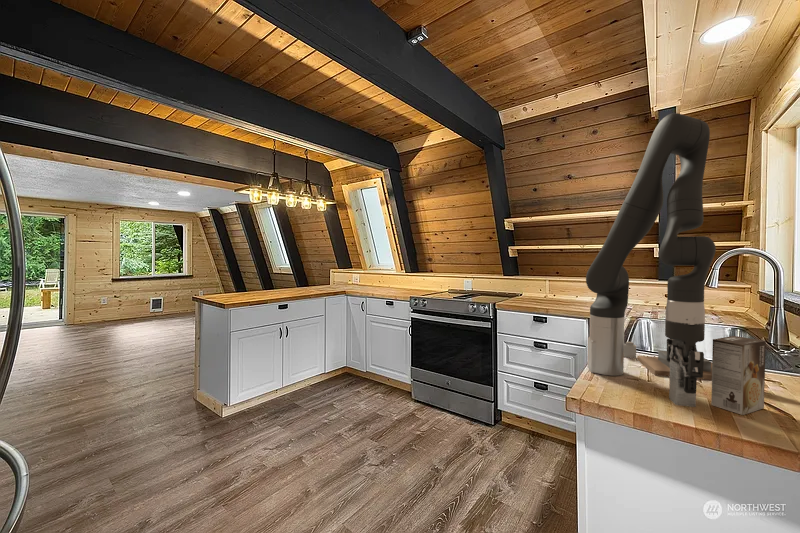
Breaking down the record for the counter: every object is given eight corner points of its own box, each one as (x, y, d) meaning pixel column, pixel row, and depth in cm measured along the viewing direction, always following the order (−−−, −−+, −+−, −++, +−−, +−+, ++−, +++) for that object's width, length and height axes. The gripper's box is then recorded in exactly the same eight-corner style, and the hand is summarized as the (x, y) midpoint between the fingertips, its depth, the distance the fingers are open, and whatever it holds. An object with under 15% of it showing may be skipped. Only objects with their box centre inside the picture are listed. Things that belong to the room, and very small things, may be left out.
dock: (654, 375, 109) (655, 360, 109) (637, 360, 124) (637, 346, 124) (737, 382, 103) (737, 366, 103) (708, 365, 118) (708, 351, 118)
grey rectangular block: (636, 357, 128) (636, 334, 127) (635, 358, 126) (636, 335, 126) (612, 354, 132) (613, 332, 131) (612, 355, 130) (612, 332, 130)
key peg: (675, 404, 88) (676, 363, 87) (669, 398, 92) (670, 359, 91) (695, 407, 87) (696, 365, 86) (688, 400, 90) (689, 360, 90)
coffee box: (731, 398, 91) (733, 335, 91) (764, 408, 86) (767, 340, 85) (709, 405, 88) (711, 338, 87) (743, 416, 82) (745, 344, 81)
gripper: (655, 313, 96) (654, 376, 97) (679, 324, 83) (677, 396, 83) (689, 315, 94) (687, 379, 95) (719, 326, 80) (717, 400, 81)
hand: (682, 387), depth 89 cm, fingers open, 7 cm apart
